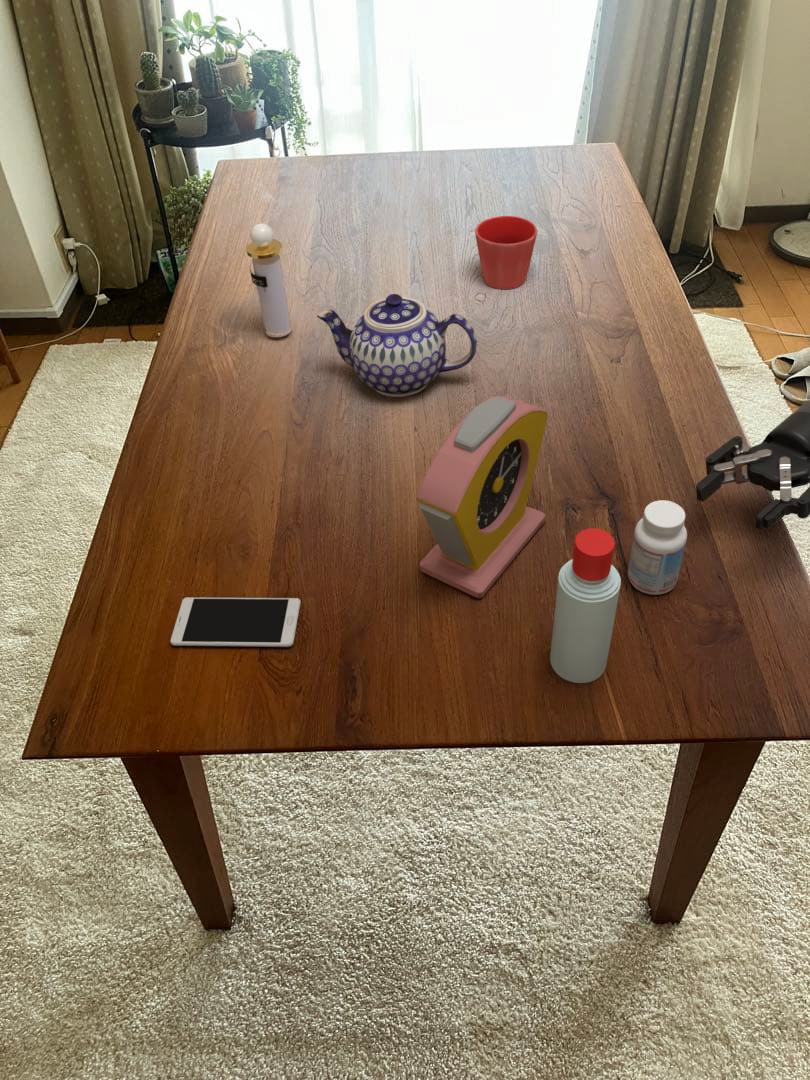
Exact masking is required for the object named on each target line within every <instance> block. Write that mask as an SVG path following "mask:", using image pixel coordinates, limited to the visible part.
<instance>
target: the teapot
mask: <svg viewBox="0 0 810 1080" xmlns="http://www.w3.org/2000/svg"><path fill="white" fill-rule="evenodd" d="M316 317H317V318H318V319H320V320H321V321H323V322H324V323H325V324H327V326H328V328H329V329H330V331H331V334H332V337H333V341H334V344H335V347H336V349H337V352H338V354H339V356H340V358H341V359H342V361H344V362H345V363H346V364H347V365H348V366H350V367H352V368H353V369H354V371H355V373H356V375H357V377H358V378H359V380H361V381H362V382H363V383H364V384H365V385H366V386H368V387H369V388H371V389H372V390H375V391H376V392H377V393H378V394H381V395H383V396H387V397H392V398H402V397H403V398H404V397H409V396H413V395H415V394H419V393H420V392H421V391H423V390H425V388H426V387H428V385H429V384H431V382H432V381H434V380H435V379H436V378H437V377H438V375H439V374H442V373H446V372H450V371H455V370H459V369H461V368H463V367H465V366H467V365H468V364H470V363H471V362H472V360H473V359H474V357H475V355H476V354H477V344H478V341H477V335H476V332H475V330H474V328H473V326H472V324H471V323H470V322H469V321H468V320H467V319H466V318H465V317H464V316H462V315H461V314H458V313H453V314H450V315H449V316H447V317H445V318H444V319H443V320H441V321H440V320H439V318H438V317H437V316H436V315H435V313H433V312H432V311H431V310H429V309H427V308H426V306H425V304H424V303H423V302H422V301H420V300H418V299H416V298H412V297H407V296H401V295H399V294H397V293H391V294H389V295H387V296H386V297H385V298H381V299H379V300H376V301H374V302H373V303H371V304H370V305H368V306H367V307H366V309H365V311H364V313H363V314H362V316H360V317H359V319H358V320H357V322H356V323H355V325H354V327H353V329H350V328H349V327H347V326H346V325H345V322H344V321H343V320H342V318H341V317H340V316H339V315H338V313H337V312H336V311H335V310H333V309H327V310H322V311H321V312H319V313H318V314H317V315H316ZM452 324H455V325H458V326H459V327H460V328H462V329H463V330H464V332H466V334H467V337H468V338H469V340H470V349H469V351H468V353H467V354H466V355H465V356H464V357H462V358H460V359H459V360H453V361H450V360H448V359H447V358H446V351H447V350H446V349H447V348H446V347H447V345H446V333H447V330H448V327H449V326H450V325H452Z"/></svg>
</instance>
